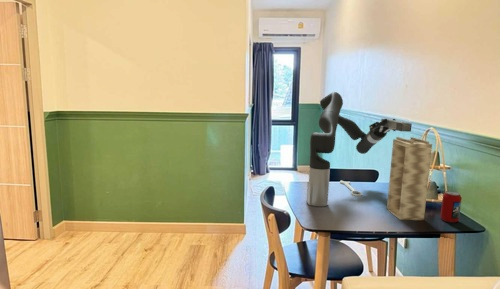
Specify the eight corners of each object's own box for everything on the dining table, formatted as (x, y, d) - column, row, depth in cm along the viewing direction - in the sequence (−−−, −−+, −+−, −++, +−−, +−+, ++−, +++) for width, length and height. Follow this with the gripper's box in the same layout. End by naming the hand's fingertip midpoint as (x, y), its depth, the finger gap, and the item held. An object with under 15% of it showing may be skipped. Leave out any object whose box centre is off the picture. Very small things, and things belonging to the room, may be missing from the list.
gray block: (400, 131, 153) (401, 123, 152) (379, 125, 175) (380, 118, 174) (410, 131, 153) (411, 123, 153) (388, 125, 175) (389, 118, 174)
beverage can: (458, 224, 143) (461, 196, 141) (439, 221, 146) (442, 193, 144) (458, 219, 148) (462, 192, 146) (440, 216, 152) (443, 189, 150)
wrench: (348, 183, 206) (338, 183, 206) (348, 180, 205) (338, 179, 205) (363, 197, 178) (351, 196, 178) (364, 193, 178) (352, 192, 178)
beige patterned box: (400, 219, 146) (408, 141, 141) (386, 209, 159) (393, 136, 154) (423, 220, 147) (432, 141, 142) (408, 209, 159) (415, 137, 154)
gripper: (362, 127, 185) (375, 112, 169) (388, 127, 186) (403, 113, 170) (363, 140, 182) (377, 127, 166) (390, 141, 183) (406, 128, 167)
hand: (390, 120), depth 168 cm, fingers closed on gray block, 3 cm apart
